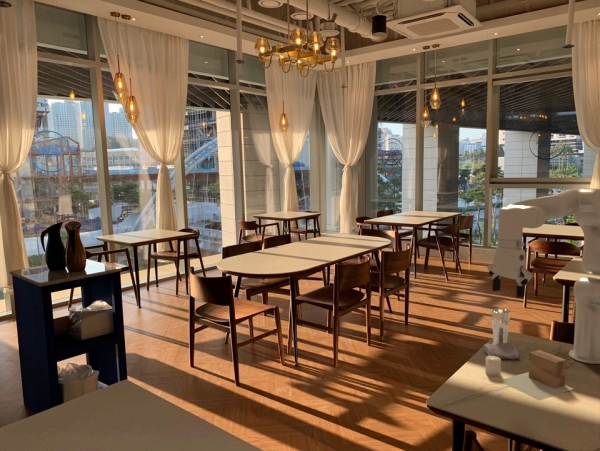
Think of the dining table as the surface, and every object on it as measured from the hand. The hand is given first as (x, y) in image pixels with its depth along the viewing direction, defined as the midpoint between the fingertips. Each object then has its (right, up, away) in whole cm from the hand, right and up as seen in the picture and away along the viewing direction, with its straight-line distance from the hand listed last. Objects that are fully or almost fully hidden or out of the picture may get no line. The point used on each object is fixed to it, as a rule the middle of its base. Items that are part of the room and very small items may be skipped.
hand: (508, 293), depth 160 cm
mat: (+9, -31, 0) cm, 32 cm away
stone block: (+9, -29, +27) cm, 40 cm away
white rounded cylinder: (-1, -30, +9) cm, 32 cm away
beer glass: (+13, -27, +37) cm, 48 cm away
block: (+14, -31, +2) cm, 34 cm away
